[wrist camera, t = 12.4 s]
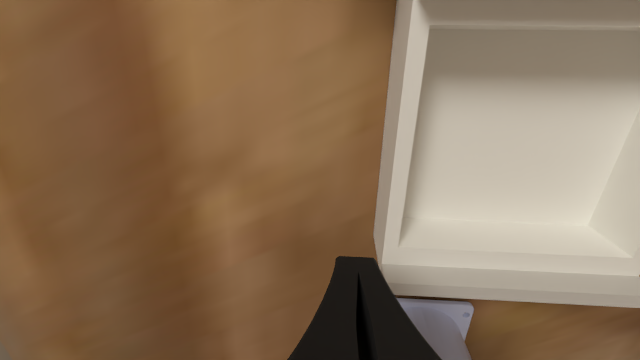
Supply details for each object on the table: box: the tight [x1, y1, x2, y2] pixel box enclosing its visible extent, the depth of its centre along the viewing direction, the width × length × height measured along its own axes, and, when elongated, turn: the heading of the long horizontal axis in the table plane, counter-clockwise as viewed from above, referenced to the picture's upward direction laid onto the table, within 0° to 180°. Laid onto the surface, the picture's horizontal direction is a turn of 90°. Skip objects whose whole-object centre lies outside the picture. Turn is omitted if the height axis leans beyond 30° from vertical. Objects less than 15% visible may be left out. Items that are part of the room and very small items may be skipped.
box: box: [373, 0, 640, 308], centre depth 15 cm, size 15×14×6 cm
